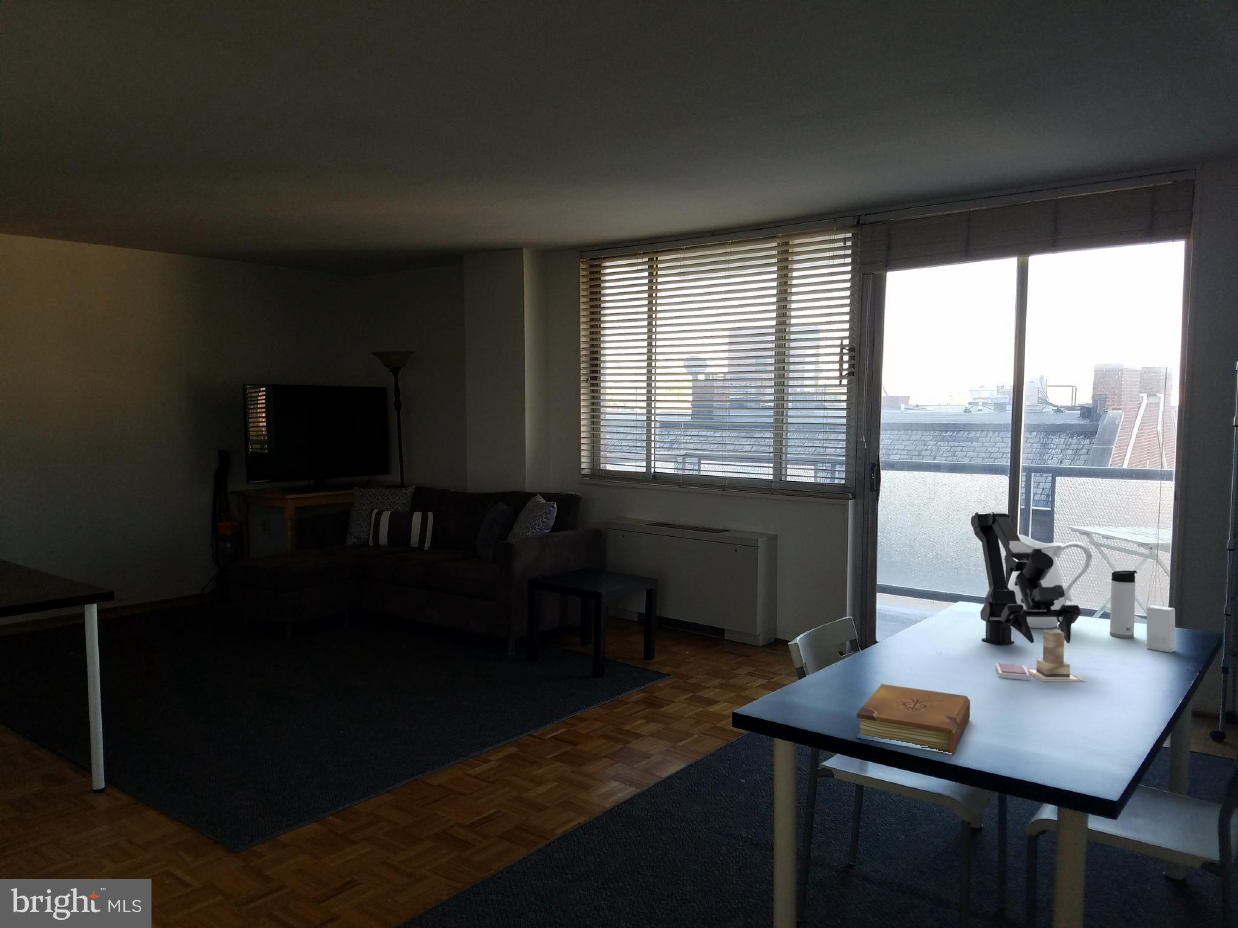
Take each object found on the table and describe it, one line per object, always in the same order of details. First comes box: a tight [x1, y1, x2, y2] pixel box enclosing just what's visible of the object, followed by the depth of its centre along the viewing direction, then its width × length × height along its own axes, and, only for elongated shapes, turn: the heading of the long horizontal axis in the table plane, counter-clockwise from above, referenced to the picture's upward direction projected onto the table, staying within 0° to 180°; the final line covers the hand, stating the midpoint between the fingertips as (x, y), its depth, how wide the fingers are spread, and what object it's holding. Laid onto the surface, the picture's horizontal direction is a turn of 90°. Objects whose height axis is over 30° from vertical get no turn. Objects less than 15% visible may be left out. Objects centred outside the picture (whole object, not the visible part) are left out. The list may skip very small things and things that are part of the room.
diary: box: [856, 683, 971, 754], centre depth 182 cm, size 23×19×6 cm
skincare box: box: [1146, 605, 1176, 653], centre depth 245 cm, size 6×4×12 cm
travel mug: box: [1109, 569, 1138, 639], centre depth 261 cm, size 6×7×20 cm
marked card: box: [1026, 667, 1086, 682], centre depth 221 cm, size 10×10×1 cm
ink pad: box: [994, 663, 1031, 681], centre depth 222 cm, size 9×7×2 cm
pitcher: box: [1007, 534, 1093, 629], centre depth 273 cm, size 24×17×28 cm
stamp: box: [1035, 629, 1071, 677], centre depth 220 cm, size 6×5×11 cm
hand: (1050, 642), depth 222 cm, fingers open, 9 cm apart
